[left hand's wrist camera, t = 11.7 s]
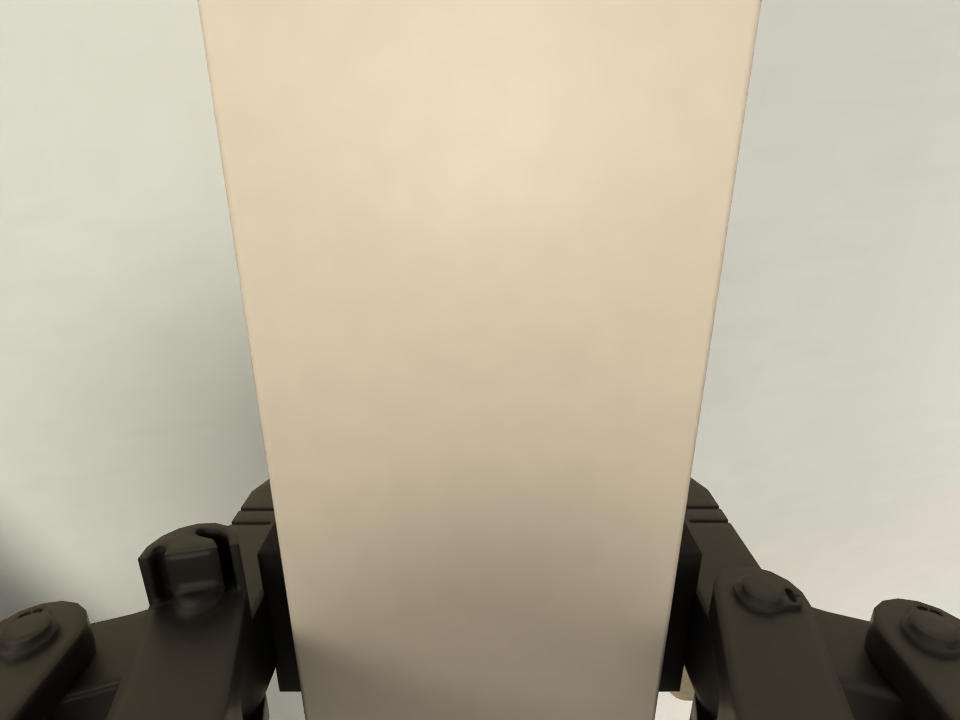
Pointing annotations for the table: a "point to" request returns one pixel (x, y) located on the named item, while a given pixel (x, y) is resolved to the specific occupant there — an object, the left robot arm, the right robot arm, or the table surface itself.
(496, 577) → the bar
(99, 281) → the table surface
